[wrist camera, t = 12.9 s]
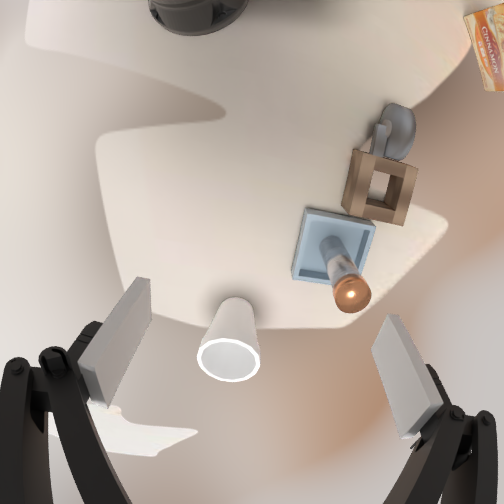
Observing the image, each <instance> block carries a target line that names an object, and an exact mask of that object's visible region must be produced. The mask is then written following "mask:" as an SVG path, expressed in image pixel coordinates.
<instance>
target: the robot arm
mask: <svg viewBox="0 0 504 504" xmlns="http://www.w3.org/2000/svg"><path fill="white" fill-rule="evenodd" d="M148 3H149V9H150V12H151V14H152V16H153V17H154V19H155V20H156V21H157V22H158V23H159V24H160V25H162V26H163V27H164V28H165V29H167V30H169V31H171V32H173V33H176V34H179V35H185V36H198V35H205V34H209V33H212V32H215V31H218V30H220V29H222V28H224V27H226V26H227V25H229V24H230V23H232V22H233V21H234V20H236V19H237V18H238V17H239V16H240V14H241V13H242V12H243V10H244V9H245V7H246V5H247V3H248V0H148ZM151 320H152V314H151V289H150V279H147V278H142V277H137V278H136V279H135V280H134V281H133V283H132V284H131V286H130V287H129V288H128V290H127V291H126V292H125V294H124V295H123V296H122V298H121V299H120V300H119V302H118V303H117V305H116V306H115V307H114V309H113V310H112V312H111V313H110V315H109V316H108V317H107V319H106V320H105V321H104V323H100V322H97V321H93V322H91V323H90V324H88V325H87V326H85V328H84V329H83V330H82V332H81V333H80V335H79V336H78V337H77V339H76V340H75V341H74V343H73V344H72V346H71V347H70V348H69V350H68V351H67V352H66V351H65V350H64V349H63V348H61V347H57V346H54V347H49V348H46V349H45V350H43V351H42V352H41V354H40V355H39V364H40V366H41V368H40V367H30V364H29V363H28V361H27V360H26V359H24V358H21V357H17V358H13V359H11V360H9V361H8V362H7V363H6V366H5V368H4V373H3V377H2V382H1V387H0V504H53V499H52V490H51V480H50V468H49V451H48V412H53V416H54V420H55V424H56V427H57V431H58V434H59V438H60V441H61V444H62V447H63V450H64V453H65V456H66V459H67V462H68V465H69V467H70V470H71V473H72V475H73V478H74V480H75V483H76V485H77V488H78V490H79V492H80V494H81V497H82V499H83V502H84V504H132V502H131V500H130V499H129V497H128V495H127V493H126V491H125V490H124V488H123V486H122V484H121V482H120V480H119V478H118V476H117V474H116V472H115V470H114V468H113V466H112V464H111V462H110V460H109V458H108V455H107V453H106V451H105V449H104V446H103V444H102V442H101V439H100V437H99V435H98V432H97V430H96V427H95V425H94V422H93V419H92V417H91V414H90V411H89V409H88V406H87V404H86V403H87V401H88V399H89V397H90V398H91V401H92V403H93V404H95V405H98V406H101V407H104V408H107V409H108V408H109V406H110V403H111V401H112V399H113V397H114V395H115V392H116V391H117V388H118V386H119V384H120V382H121V380H122V378H123V376H124V374H125V372H126V370H127V368H128V366H129V364H130V362H131V360H132V358H133V356H134V354H135V352H136V350H137V348H138V346H139V344H140V342H141V340H142V338H143V336H144V334H145V332H146V330H147V328H148V326H149V324H150V322H151ZM371 352H372V355H373V358H374V360H375V363H376V366H377V369H378V371H379V374H380V377H381V380H382V383H383V386H384V389H385V392H386V395H387V398H388V401H389V404H390V407H391V410H392V414H393V417H394V420H395V423H396V427H397V429H398V433H399V437H400V439H406V438H413V437H414V436H415V435H416V434H417V433H418V432H419V431H420V433H421V437H420V438H419V439H418V440H417V441H416V442H415V443H414V444H413V445H412V446H411V447H410V449H412V448H413V447H414V446H415V447H414V449H413V451H412V453H411V455H410V457H409V459H408V461H407V463H406V465H405V467H404V469H403V471H402V473H401V474H400V476H399V478H398V480H397V482H396V483H395V485H394V487H393V488H392V490H391V492H390V493H389V495H388V497H387V498H386V500H385V501H384V503H383V504H437V503H438V501H439V498H440V496H441V494H442V498H441V504H496V502H497V484H498V450H497V433H496V422H495V418H494V417H493V415H492V414H491V413H489V412H488V411H485V410H482V411H480V412H479V413H478V414H477V416H475V417H474V416H468V415H465V412H464V411H463V410H462V409H461V408H460V407H459V406H456V405H452V404H451V402H450V399H449V397H448V395H447V394H446V392H445V389H444V387H443V385H442V383H441V381H440V380H439V377H438V375H437V373H436V371H435V370H434V369H433V368H432V367H431V365H430V364H425V363H424V361H423V359H422V357H421V355H420V353H419V351H418V349H417V347H416V346H415V344H414V342H413V340H412V338H411V336H410V334H409V332H408V331H407V329H406V327H405V326H404V324H403V322H402V320H401V318H400V316H399V315H395V314H387V316H386V319H385V321H384V323H383V325H382V327H381V329H380V332H379V334H378V336H377V338H376V340H375V342H374V344H373V346H372V348H371ZM471 450H472V453H471ZM442 492H443V493H442Z"/></svg>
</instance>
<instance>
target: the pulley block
mask: <svg viewBox="0 0 504 504" xmlns="http://www.w3.org/2000/svg"><path fill="white" fill-rule="evenodd" d="M415 132H416V121H415V116H414V113H413V111H412V110H411V109H409V108H406V107H404V106H401V105H398V104H395V103H391V104H389V105H388V106H387V107H386V109H385V110H384V112H383V114H382V117H381V119H380V123H379V124H375V126H374V132H373V137H372V142H371V147H370V152H369V153H367V152H362V151H359V150H355V149H353V153H352V158H351V163H350V168H349V172H348V177H347V181H346V186H345V190H344V195H343V199H342V203H341V206H342V207H343V208H344V209H345V210H346V212H347V213H348V214H349V215H353V216H358V217H363V218H367V219H372V220H377V221H381V222H386V223H390V224H395V225H399V226H403V225H404V221H405V218H406V215H407V211H408V208H409V204H410V200H411V197H412V193H413V189H414V185H415V181H416V176H417V173H418V168H415V167H413V166H410V165H407V164H405V163H402V162H398V161H400V160H402V159H404V158H405V157H406V155H407V154H408V153H409V151H410V149H411V147H412V145H413V141H414V138H415ZM383 156H384V157H383ZM385 157H387V158H385ZM388 158H391V159H388ZM392 159H394V160H398V161H394V160H392ZM373 170H376V171H380V172H384V173H387V174H391V175H390V180H389V183H388V187H387V191H386V195H385V199H384V202H382V201H378V200H374V199H369V198H367V195H368V191H369V187H370V183H371V178H372V174H373Z"/></svg>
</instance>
